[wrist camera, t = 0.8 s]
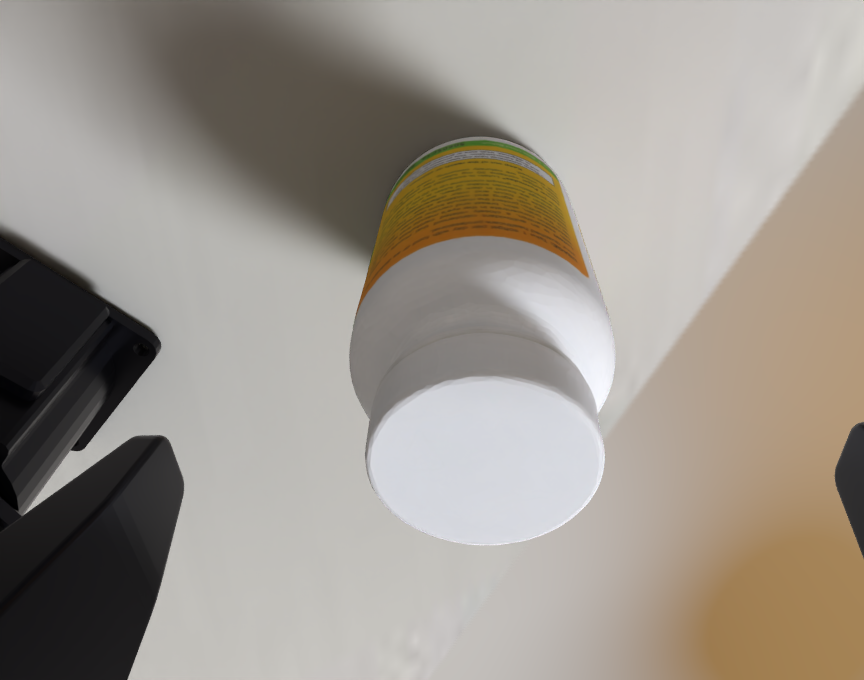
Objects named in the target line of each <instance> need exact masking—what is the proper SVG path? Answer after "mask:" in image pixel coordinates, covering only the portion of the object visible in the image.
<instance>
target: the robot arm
mask: <svg viewBox="0 0 864 680" xmlns="http://www.w3.org/2000/svg"><path fill="white" fill-rule="evenodd" d="M139 343H141V344H143V345H145V346H146V347H147V348H148V349H145V348H142V347H141V346H140V345H139ZM160 349H161V342H160V340H159V339H158V337H157V336H155V335H154V334H153V333H151V332H150V331H148V330H147V329H145V328H143V327H142V326H140V325H139V324H137V323H136V322H134V321H132V320H131V319H129V318H128V317H126V316H124V315H123V314H121V313H120V312H118V311H117V310H115V309H113V308H112V307H110V306H109V305H107V304H106V303H104V302H102V301H101V300H99V299H98V298H96V297H94V296H93V295H91V294H90V293H88V292H87V291H85V290H83V289H82V288H80V287H79V286H77V285H75V284H74V283H72V282H71V281H69V280H68V279H66V278H64V277H63V276H61V275H60V274H58V273H56V272H55V271H53V270H52V269H50V268H49V267H47V266H45V265H44V264H42V263H41V262H39V261H37V260H36V259H34V258H33V257H31V256H30V255H28V254H26V253H25V252H23V251H22V250H20V249H18V248H17V247H15V246H14V245H12V244H11V243H9V242H7V241H6V240H4V239H3V238H1V237H0V680H127V679H128V676H129V674H130V671H131V668H132V666H133V663H134V660H135V658H136V655H137V652H138V650H139V647H140V644H141V641H142V639H143V636H144V633H145V631H146V628H147V625H148V623H149V620H150V617H151V614H152V611H153V609H154V606H155V603H156V600H157V596H158V593H159V589H160V586H161V582H162V578H163V574H164V570H165V566H166V562H167V558H168V554H169V550H170V546H171V542H172V538H173V534H174V530H175V527H176V523H177V519H178V515H179V511H180V507H181V503H182V499H183V494H184V481H183V477H182V474H181V471H180V468H179V466H178V463H177V460H176V457H175V455H174V452H173V449H172V446H171V444H170V442H169V440H168V439H167V438H166V437H164V436H161V435H149V436H135V437H132V438H131V439H129V440H128V441H126V442H125V443H124V444H122V445H121V446H119V447H118V448H117V449H115V450H114V451H112V452H111V453H110V454H108V455H107V456H105V457H104V458H103V459H101V460H100V461H98V462H97V463H96V464H94V465H93V466H92V467H90V468H89V469H87V470H86V471H85V472H83V473H82V474H80V475H79V476H78V477H76V478H75V479H73V480H72V481H71V482H69V483H68V484H66V485H65V486H64V487H62V488H61V489H59V490H58V491H57V492H55V493H54V494H53V495H51V496H50V497H48V498H47V499H46V500H44V501H43V502H41V503H40V504H39V505H37V506H36V507H34V508H33V509H32V510H30V511H29V512H27V513H26V514H25V515H24V513H25V512H26V511H27V509H28V508H29V506H30V505H31V504H32V502H33V501H34V500H35V498H36V497H37V495H38V494H39V493H40V491H41V490H42V489H43V487H44V486H45V484H46V483H47V482H48V480H49V479H50V477H51V476H52V475H53V473H54V472H55V471H56V469H57V468H58V466H59V465H60V464H61V462H62V461H63V460H64V458H65V457H66V455H67V454H68V453H69V451H70V450H71V451H81V450H83V449H84V448H85V447H86V446H87V444H88V443H89V442H90V441H91V439H92V438H93V437H94V435H95V434H96V433H97V432H98V430H99V429H100V428H101V426H102V425H103V424H104V423H105V421H106V420H107V419H108V418H109V416H110V415H111V414H112V412H113V411H114V410H115V409H116V407H117V406H118V405H119V403H120V402H121V401H122V400H123V398H124V397H125V396H126V395H127V393H128V392H129V391H130V389H131V388H132V387H133V386H134V384H135V383H136V382H137V380H138V379H139V378H140V377H141V375H142V374H143V373H144V372H145V370H146V369H147V368H148V366H149V365H150V364H151V363H152V361H153V360H154V359H155V357H156V356H157V354H158V353H159V352H160ZM835 482H836V487H837V490H838V492H839V495H840V498H841V500H842V503H843V505H844V508H845V511H846V513H847V516H848V518H849V521H850V524H851V526H852V528H853V532H854V534H855V537H856V539H857V542H858V544H859V547H860V550H861V552H862V555H863V557H864V422H862V423H858V424H856V425H855V426H854V427H853V428H852V429H851V431H850V434H849V436H848V439H847V441H846V444H845V446H844V449H843V451H842V453H841V456H840V458H839V461H838V463H837V466H836V469H835Z"/></svg>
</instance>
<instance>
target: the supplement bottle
mask: <svg viewBox="0 0 864 680" xmlns="http://www.w3.org/2000/svg"><path fill="white" fill-rule="evenodd" d="M349 358H350V372H351V378H352V383H353V386H354V389H355V392H356V395H357V397H358V399H359V401H360V403H361V406H362V407H363V409H364V411H365V413H366V414H367V416H368V417H369V419H370V421H369V428H368V435H367V442H366V451H365V460H366V469H367V474H368V477H369V480H370V482H371V485H372V487H373V489H374V491H375V493H376V494H377V496H378V497H379V498H380V500H381V501H382V503H383V504H384V505H385V506H386V507H387V508H388V509H389V510H390V511H391V512H392V513H393V514H394V515H395V516H397V517H398V518H399V519H400V520H402V521H403V522H404V523H406V524H408V525H410V526H412V527H413V528H415V529H417V530H419V531H421V532H424V533H426V534H428V535H431V536H433V537H437V538H440V539H444V540H447V541H451V542H457V543H462V544H469V545H502V544H510V543H515V542H520V541H525V540H529V539H532V538H535V537H538V536H541V535H543V534H545V533H548V532H550V531H552V530H554V529H556V528H558V527H560V526H561V525H563V524H565V523H566V522H567V521H569V520H570V519H572V518H573V517H574V516H575V515H576V514H577V513H578V512H580V511H581V510H582V509H583V508H584V507H585V506H586V505H587V504H588V502H589V501H590V500H591V498H592V497H593V495H594V493H595V492H596V490H597V488H598V486H599V483H600V481H601V478H602V475H603V470H604V463H605V452H604V444H603V439H602V435H601V430H600V425H599V420H598V413H599V411H600V409H601V407H602V406H603V404H604V402H605V400H606V398H607V396H608V393H609V391H610V388H611V385H612V381H613V376H614V370H615V342H614V337H613V332H612V327H611V322H610V318H609V314H608V311H607V308H606V305H605V302H604V299H603V296H602V293H601V290H600V287H599V284H598V281H597V278H596V275H595V272H594V270H593V267H592V264H591V261H590V258H589V255H588V252H587V249H586V246H585V243H584V239H583V236H582V233H581V230H580V227H579V224H578V221H577V218H576V215H575V212H574V210H573V207H572V205H571V202H570V199H569V196H568V194H567V192H566V189H565V188H564V186H563V184H562V182H561V180H560V179H559V177H558V176H557V174H556V173H555V172H554V171H553V170H552V168H551V167H550V166H549V165H548V164H547V163H546V162H545V161H543V160H542V159H541V158H540V157H538V156H537V155H536V154H534V153H533V152H531V151H529V150H528V149H526V148H524V147H522V146H520V145H518V144H515V143H513V142H510V141H507V140H503V139H499V138H492V137H467V138H461V139H456V140H453V141H449V142H446V143H443V144H441V145H438V146H436V147H434V148H432V149H430V150H429V151H427V152H425V153H424V154H422V155H421V156H420V157H418V158H417V159H416V160H415V161H413V162H412V163H411V164H410V165H409V166H408V167H407V168H406V169H405V170H404V172H403V173H402V174H401V176H400V177H399V178H398V180H397V181H396V183H395V184H394V186H393V188H392V190H391V192H390V195H389V197H388V199H387V202H386V205H385V208H384V212H383V215H382V220H381V223H380V227H379V231H378V235H377V239H376V243H375V246H374V250H373V254H372V257H371V260H370V265H369V268H368V273H367V277H366V280H365V284H364V288H363V291H362V295H361V298H360V302H359V305H358V309H357V312H356V316H355V321H354V325H353V332H352V337H351V343H350V354H349Z"/></svg>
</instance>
